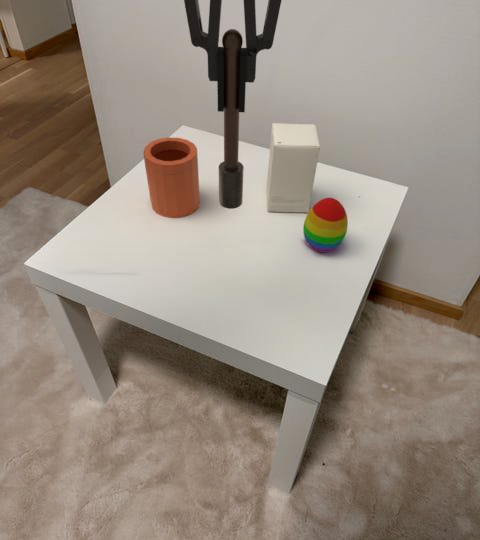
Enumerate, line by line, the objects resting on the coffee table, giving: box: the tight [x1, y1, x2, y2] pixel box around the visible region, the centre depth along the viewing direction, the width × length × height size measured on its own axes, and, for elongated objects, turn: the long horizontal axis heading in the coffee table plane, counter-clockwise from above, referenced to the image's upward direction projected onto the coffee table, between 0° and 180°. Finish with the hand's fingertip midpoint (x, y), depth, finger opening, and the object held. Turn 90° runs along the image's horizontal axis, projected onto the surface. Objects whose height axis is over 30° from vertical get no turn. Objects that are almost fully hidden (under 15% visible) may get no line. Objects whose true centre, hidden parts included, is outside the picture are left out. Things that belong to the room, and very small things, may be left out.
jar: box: [142, 136, 201, 219], centre depth 90 cm, size 10×10×12 cm
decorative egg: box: [302, 197, 349, 253], centre depth 83 cm, size 8×8×10 cm
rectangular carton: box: [266, 122, 321, 214], centre depth 90 cm, size 9×9×15 cm
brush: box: [218, 28, 245, 210], centre depth 59 cm, size 4×4×23 cm
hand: (231, 106), depth 57 cm, fingers closed on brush, 2 cm apart
